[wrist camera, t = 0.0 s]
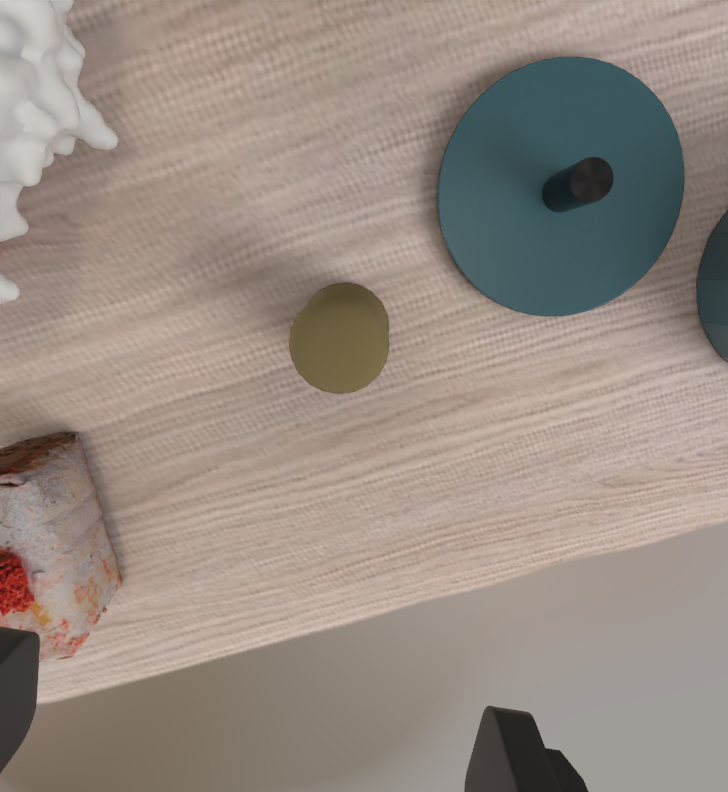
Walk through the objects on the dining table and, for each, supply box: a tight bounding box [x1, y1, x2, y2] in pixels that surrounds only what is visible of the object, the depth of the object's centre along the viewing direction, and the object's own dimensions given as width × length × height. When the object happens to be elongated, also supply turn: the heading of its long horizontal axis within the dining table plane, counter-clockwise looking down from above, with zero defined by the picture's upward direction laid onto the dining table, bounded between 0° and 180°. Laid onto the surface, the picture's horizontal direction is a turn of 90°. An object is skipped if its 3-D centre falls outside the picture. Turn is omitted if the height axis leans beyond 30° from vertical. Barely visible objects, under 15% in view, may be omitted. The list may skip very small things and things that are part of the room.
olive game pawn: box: [289, 283, 389, 394], centre depth 32 cm, size 6×6×11 cm
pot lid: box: [437, 57, 684, 316], centre depth 33 cm, size 16×16×6 cm
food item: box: [0, 432, 122, 662], centre depth 36 cm, size 14×8×10 cm, turn 9°
